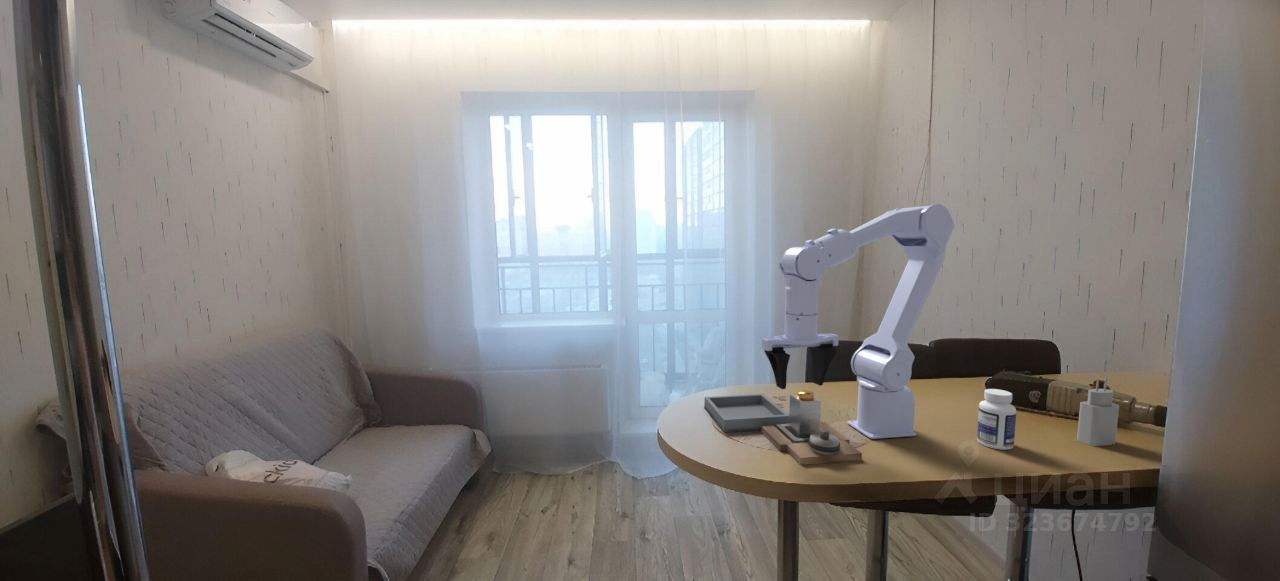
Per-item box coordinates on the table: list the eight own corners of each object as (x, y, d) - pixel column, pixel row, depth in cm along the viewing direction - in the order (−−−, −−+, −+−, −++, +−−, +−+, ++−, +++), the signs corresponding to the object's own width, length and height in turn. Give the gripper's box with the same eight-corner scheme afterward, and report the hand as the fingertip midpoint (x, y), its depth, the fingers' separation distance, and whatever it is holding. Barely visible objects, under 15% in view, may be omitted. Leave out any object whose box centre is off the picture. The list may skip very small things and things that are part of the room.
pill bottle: (1006, 440, 87) (1010, 388, 86) (1018, 452, 82) (1023, 398, 81) (972, 436, 89) (975, 386, 88) (982, 448, 84) (986, 395, 83)
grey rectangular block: (808, 434, 90) (809, 388, 89) (819, 442, 86) (821, 395, 85) (788, 435, 90) (790, 389, 89) (798, 444, 86) (800, 396, 85)
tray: (762, 404, 106) (762, 393, 106) (790, 428, 93) (790, 415, 93) (704, 407, 104) (704, 397, 104) (723, 432, 91) (724, 420, 91)
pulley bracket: (824, 427, 93) (825, 406, 93) (868, 459, 79) (869, 434, 79) (761, 432, 91) (761, 410, 91) (794, 465, 78) (795, 440, 77)
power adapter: (1117, 443, 85) (1124, 379, 84) (1093, 446, 84) (1100, 381, 83) (1097, 436, 88) (1104, 374, 87) (1074, 439, 87) (1080, 376, 86)
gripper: (822, 308, 91) (821, 376, 92) (754, 311, 88) (753, 382, 89) (846, 313, 84) (844, 387, 86) (773, 317, 81) (772, 394, 82)
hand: (799, 385), depth 87 cm, fingers open, 7 cm apart
